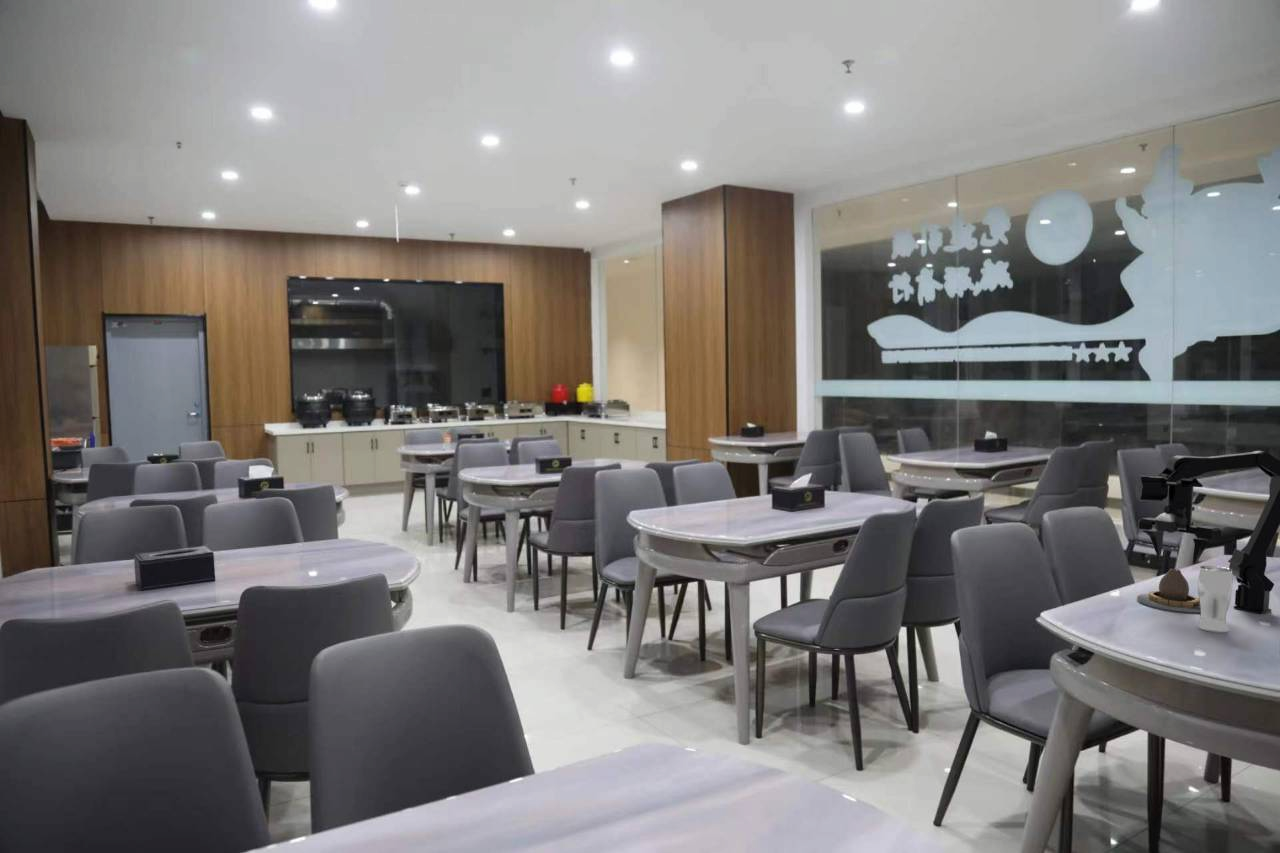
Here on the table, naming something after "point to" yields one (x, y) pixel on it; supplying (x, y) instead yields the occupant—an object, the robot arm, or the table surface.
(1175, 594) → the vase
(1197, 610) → the wooden ring on tray
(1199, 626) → the beer glass
